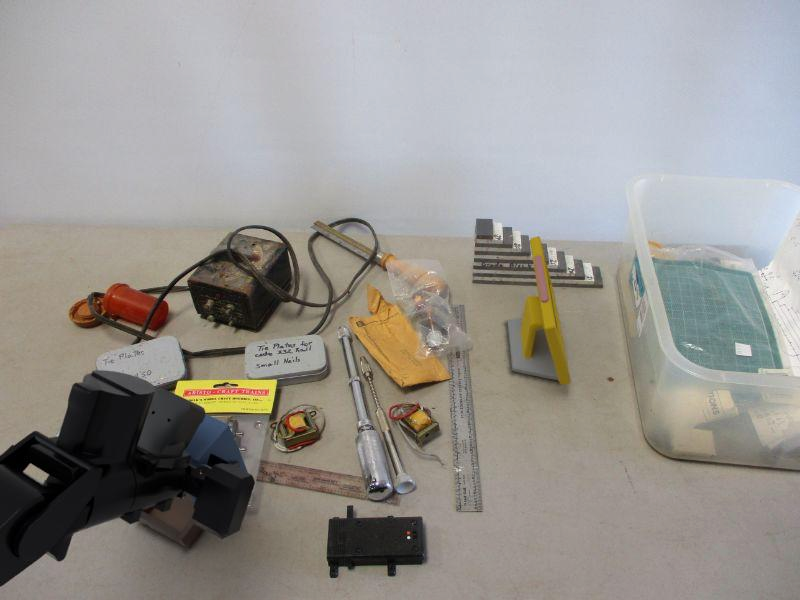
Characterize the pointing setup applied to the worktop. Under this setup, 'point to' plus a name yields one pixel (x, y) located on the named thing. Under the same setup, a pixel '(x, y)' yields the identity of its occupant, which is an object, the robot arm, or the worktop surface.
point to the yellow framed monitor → (539, 329)
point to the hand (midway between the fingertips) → (219, 456)
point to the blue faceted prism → (213, 444)
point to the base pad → (174, 520)
